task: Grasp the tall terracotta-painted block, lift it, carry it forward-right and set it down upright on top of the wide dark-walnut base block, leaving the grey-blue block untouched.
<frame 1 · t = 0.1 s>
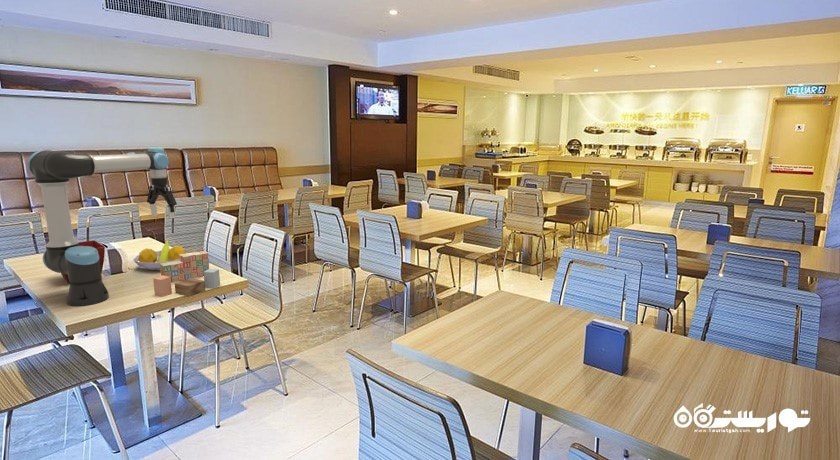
hand: (163, 217, 250), 28 cm above the table, fingers open, 13 cm apart
terracotta block: (163, 294, 215), on the table
greyblue block: (212, 286, 227), on the table
fruit bowl: (163, 266, 258), on the table
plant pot: (81, 279, 235), on the table
walnut base: (190, 292, 219), on the table
stack of blocks: (186, 278, 239), on the table
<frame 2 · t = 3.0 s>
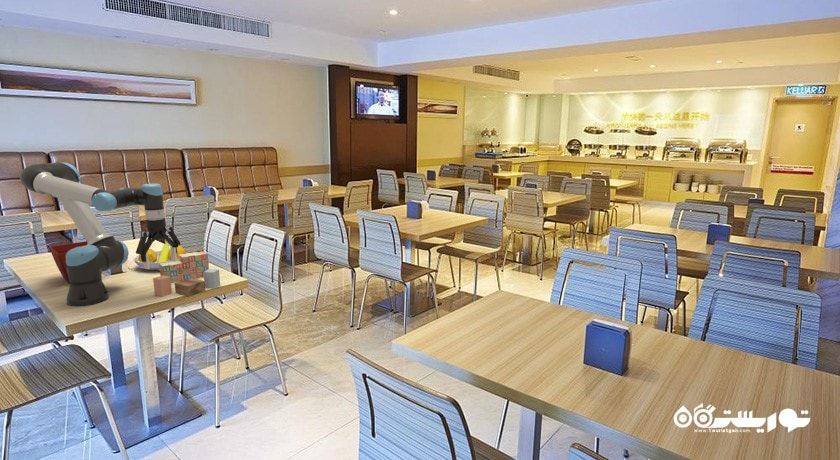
hand: (160, 264, 212), 14 cm above the table, fingers open, 13 cm apart
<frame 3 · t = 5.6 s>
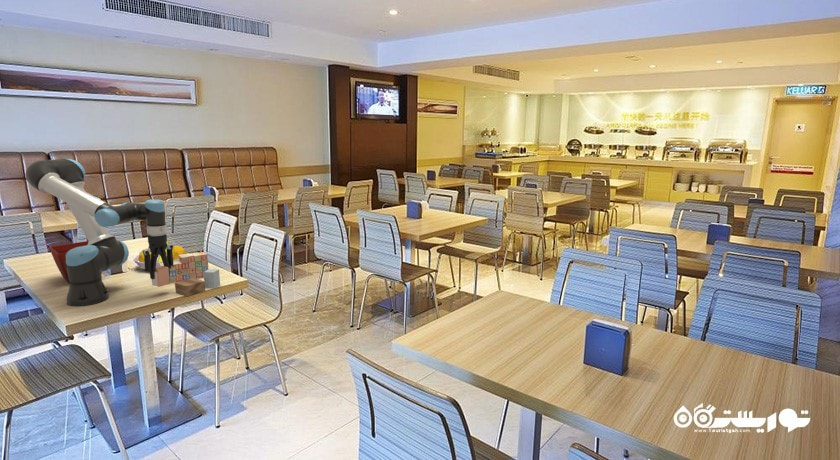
hand: (160, 283, 214), 5 cm above the table, fingers closed on terracotta block, 5 cm apart
terracotta block: (161, 284, 214), point 5 cm above the table, touching gripper
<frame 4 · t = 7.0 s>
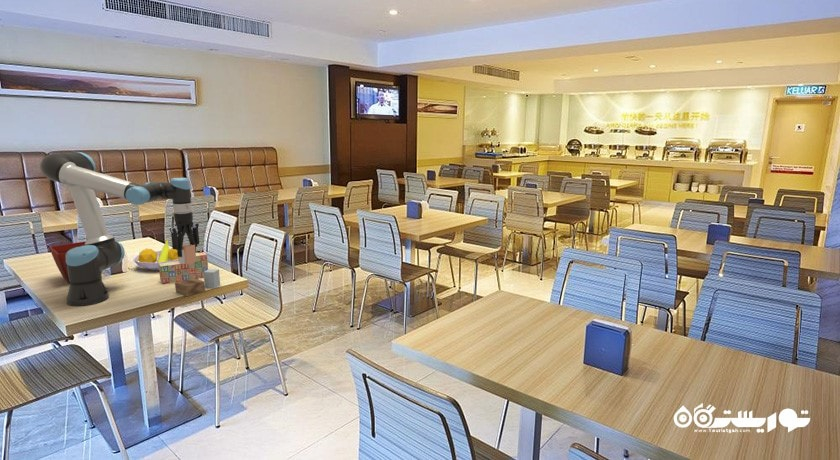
hand: (187, 261, 216), 15 cm above the table, fingers closed on terracotta block, 5 cm apart
terracotta block: (188, 262, 216), point 14 cm above the table, touching gripper
when the fingers open (6 cm above the table, at t = 8.8 s): terracotta block stays where it is, resting on walnut base.
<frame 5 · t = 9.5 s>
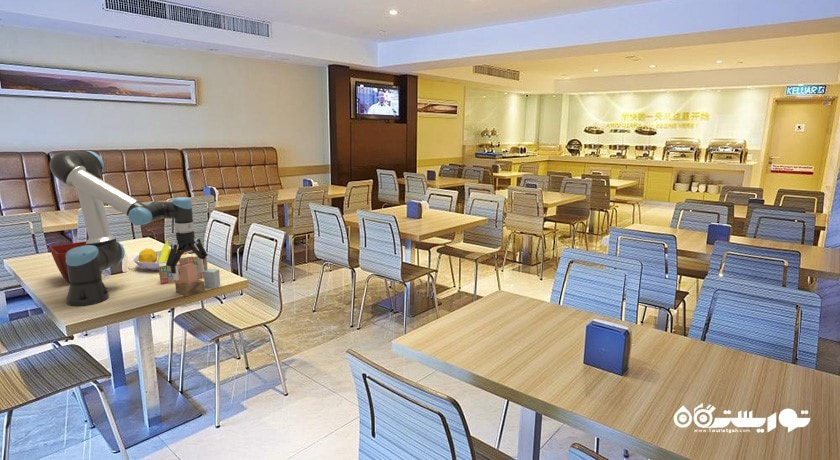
hand: (189, 275, 218), 8 cm above the table, fingers open, 13 cm apart
terracotta block: (189, 282, 218), point 5 cm above the table, touching walnut base
greyblue block: (212, 286, 227), on the table, touching gripper
walnut base: (190, 292, 219), on the table, touching terracotta block
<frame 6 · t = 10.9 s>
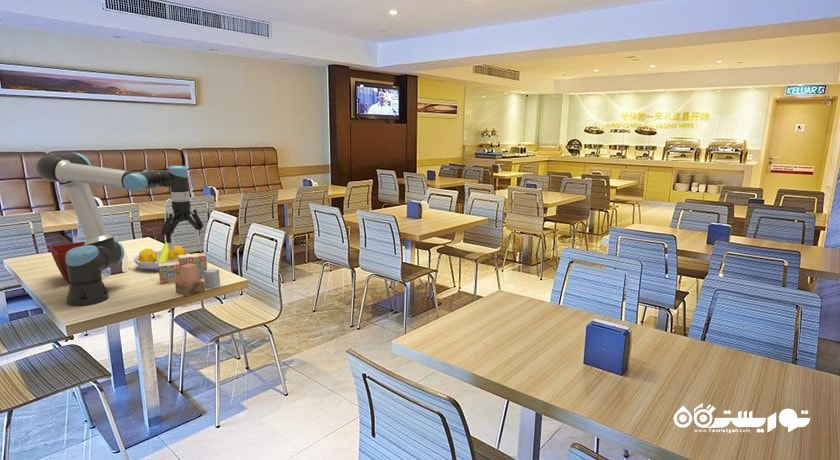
hand: (184, 246, 215), 22 cm above the table, fingers open, 13 cm apart
terracotta block: (190, 282, 218), point 5 cm above the table
greyblue block: (212, 286, 227), on the table
walnut base: (190, 292, 219), on the table
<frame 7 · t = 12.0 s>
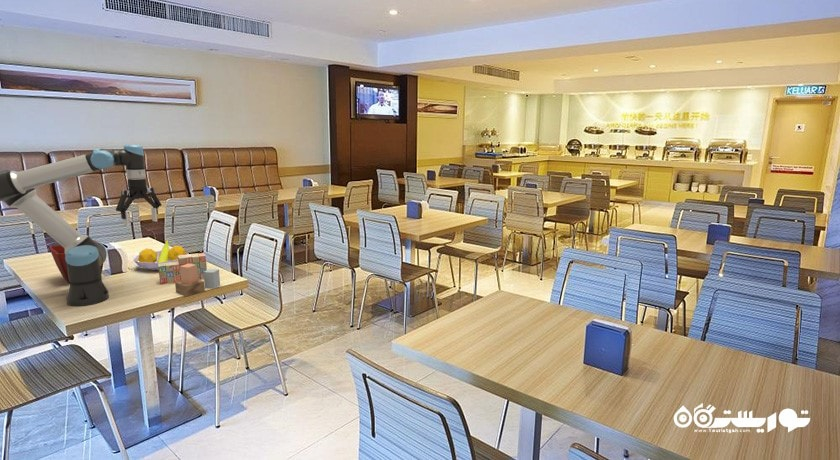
hand: (141, 223, 221), 30 cm above the table, fingers open, 13 cm apart
terracotta block: (189, 281, 218), point 5 cm above the table, touching walnut base
walnut base: (190, 292, 219), on the table, touching terracotta block
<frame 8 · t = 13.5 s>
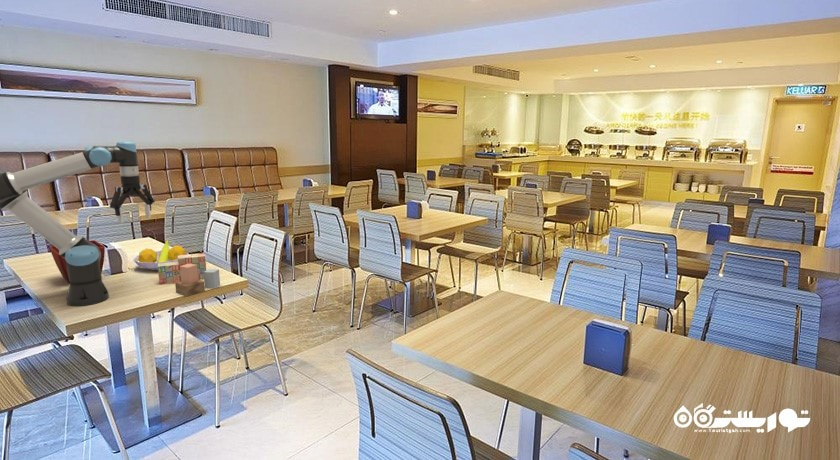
hand: (134, 220, 222), 32 cm above the table, fingers open, 13 cm apart
terracotta block: (189, 281, 218), point 5 cm above the table
walnut base: (190, 292, 219), on the table
at the end: terracotta block 0.1 cm from the walnut base (horizontally); terracotta block point 4.7 cm above the table; terracotta block tilted 1° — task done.
